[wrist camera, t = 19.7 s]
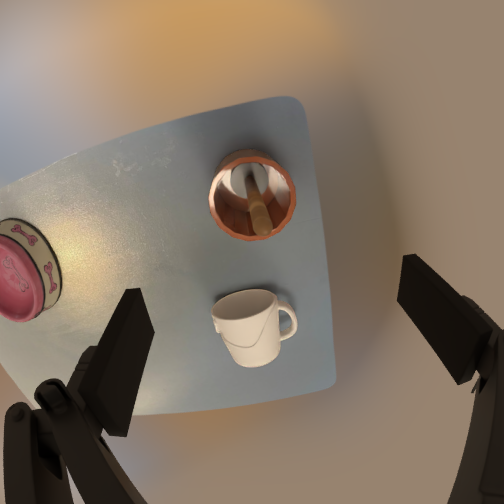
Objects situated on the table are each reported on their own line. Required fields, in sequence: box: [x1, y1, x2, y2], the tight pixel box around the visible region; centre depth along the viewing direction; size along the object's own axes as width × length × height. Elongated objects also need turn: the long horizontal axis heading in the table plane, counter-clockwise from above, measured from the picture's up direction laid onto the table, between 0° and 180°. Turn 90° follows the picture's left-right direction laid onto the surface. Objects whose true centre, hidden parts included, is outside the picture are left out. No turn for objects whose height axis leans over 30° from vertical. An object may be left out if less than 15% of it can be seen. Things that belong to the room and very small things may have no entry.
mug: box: [211, 289, 297, 367], centre depth 47 cm, size 12×9×8 cm
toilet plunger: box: [230, 162, 273, 237], centre depth 31 cm, size 5×5×21 cm
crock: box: [208, 149, 296, 241], centre depth 37 cm, size 9×9×10 cm
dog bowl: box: [0, 219, 62, 322], centre depth 41 cm, size 18×18×7 cm
